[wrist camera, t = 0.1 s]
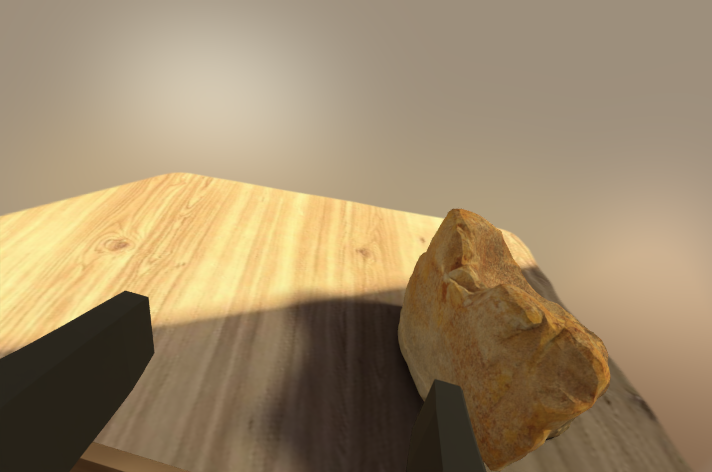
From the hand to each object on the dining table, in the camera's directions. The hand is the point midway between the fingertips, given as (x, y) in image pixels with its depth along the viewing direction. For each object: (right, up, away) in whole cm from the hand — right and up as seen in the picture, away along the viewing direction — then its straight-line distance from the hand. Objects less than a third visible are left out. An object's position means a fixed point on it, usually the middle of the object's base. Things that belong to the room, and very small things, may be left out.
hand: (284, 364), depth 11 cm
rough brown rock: (+14, -12, +30) cm, 35 cm away
